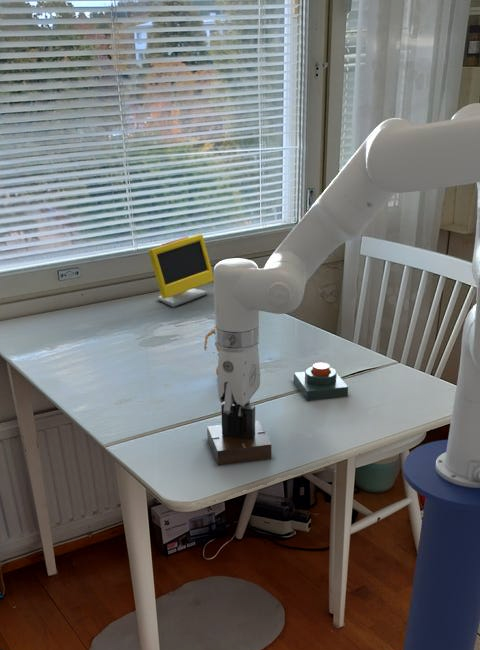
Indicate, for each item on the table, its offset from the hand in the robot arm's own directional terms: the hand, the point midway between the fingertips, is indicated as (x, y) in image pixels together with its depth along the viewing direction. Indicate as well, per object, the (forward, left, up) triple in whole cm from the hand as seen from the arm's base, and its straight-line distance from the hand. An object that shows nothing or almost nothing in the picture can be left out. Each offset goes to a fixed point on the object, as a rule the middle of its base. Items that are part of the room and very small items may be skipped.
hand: (238, 430), depth 145 cm
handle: (0, 0, -1) cm, 1 cm away
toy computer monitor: (+90, -4, -4) cm, 90 cm away
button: (+22, -23, 0) cm, 32 cm away
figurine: (+33, -4, -4) cm, 33 cm away
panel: (0, 0, -4) cm, 4 cm away
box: (+22, -23, -4) cm, 32 cm away
